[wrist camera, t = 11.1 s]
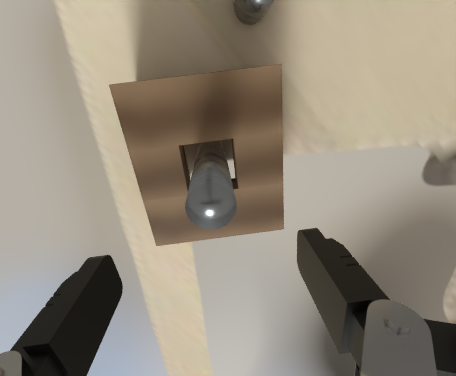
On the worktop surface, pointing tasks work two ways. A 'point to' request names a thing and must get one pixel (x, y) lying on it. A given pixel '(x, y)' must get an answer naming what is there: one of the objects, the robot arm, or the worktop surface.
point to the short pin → (251, 10)
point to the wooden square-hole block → (205, 132)
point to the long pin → (211, 188)
